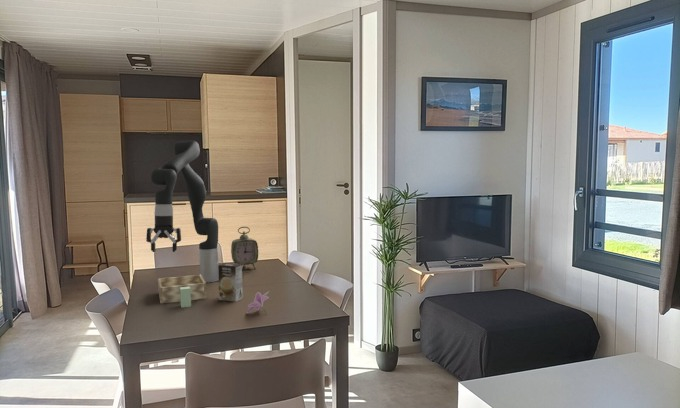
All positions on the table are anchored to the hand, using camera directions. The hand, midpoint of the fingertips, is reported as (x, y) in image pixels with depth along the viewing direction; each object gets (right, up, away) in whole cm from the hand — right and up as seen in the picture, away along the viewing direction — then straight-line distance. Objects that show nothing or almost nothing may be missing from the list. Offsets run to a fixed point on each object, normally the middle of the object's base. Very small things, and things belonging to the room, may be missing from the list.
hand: (163, 251), depth 222 cm
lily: (+44, -24, -14) cm, 52 cm away
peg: (+10, -23, -1) cm, 26 cm away
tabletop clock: (+22, -17, +74) cm, 79 cm away
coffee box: (+28, -23, +9) cm, 37 cm away
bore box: (+3, -22, +16) cm, 27 cm away
